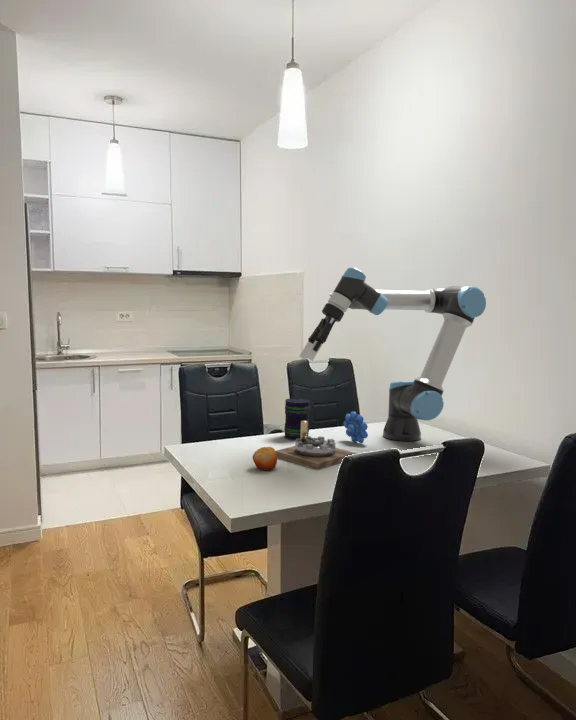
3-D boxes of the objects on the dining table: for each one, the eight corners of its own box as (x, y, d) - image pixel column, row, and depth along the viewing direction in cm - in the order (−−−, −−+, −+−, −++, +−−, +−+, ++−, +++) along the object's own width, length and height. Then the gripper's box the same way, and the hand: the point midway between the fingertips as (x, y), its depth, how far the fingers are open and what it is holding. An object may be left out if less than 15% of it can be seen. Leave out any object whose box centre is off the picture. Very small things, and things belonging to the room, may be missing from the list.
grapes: (336, 441, 221) (337, 410, 220) (347, 438, 226) (348, 408, 224) (359, 447, 213) (361, 415, 211) (370, 444, 217) (372, 413, 216)
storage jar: (309, 440, 220) (310, 403, 219) (283, 440, 220) (284, 402, 219) (308, 434, 230) (309, 398, 228) (284, 434, 230) (285, 397, 229)
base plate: (312, 446, 211) (312, 440, 211) (355, 458, 197) (355, 451, 197) (274, 456, 197) (274, 449, 197) (317, 469, 183) (317, 462, 183)
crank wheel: (313, 443, 207) (314, 418, 206) (343, 451, 197) (344, 424, 196) (286, 450, 197) (287, 423, 196) (316, 459, 187) (317, 430, 186)
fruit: (285, 462, 186) (279, 444, 181) (274, 479, 180) (267, 461, 176) (264, 458, 190) (258, 440, 185) (253, 474, 184) (246, 457, 180)
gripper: (320, 304, 214) (291, 352, 212) (335, 298, 189) (302, 353, 188) (336, 315, 215) (308, 363, 213) (353, 310, 190) (321, 365, 189)
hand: (305, 358), depth 200 cm, fingers open, 13 cm apart
